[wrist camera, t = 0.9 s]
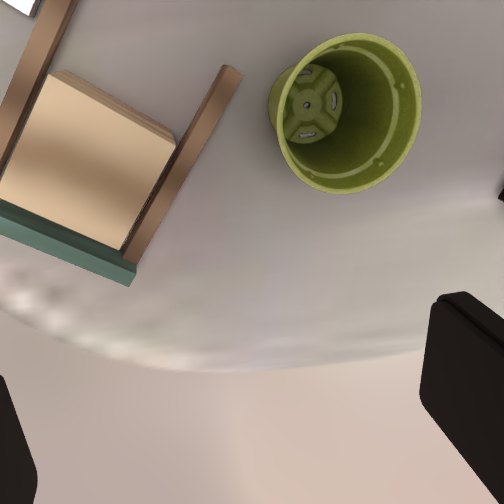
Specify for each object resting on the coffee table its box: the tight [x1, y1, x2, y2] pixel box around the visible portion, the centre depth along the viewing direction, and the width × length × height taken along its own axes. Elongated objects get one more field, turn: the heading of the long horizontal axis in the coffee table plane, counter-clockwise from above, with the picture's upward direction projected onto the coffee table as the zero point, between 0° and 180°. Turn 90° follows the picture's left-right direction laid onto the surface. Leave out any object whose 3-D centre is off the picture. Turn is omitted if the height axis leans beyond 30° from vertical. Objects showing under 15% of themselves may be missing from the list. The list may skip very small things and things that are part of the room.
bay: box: [0, 0, 243, 287], centre depth 30 cm, size 17×12×6 cm
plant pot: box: [268, 33, 422, 194], centre depth 31 cm, size 9×9×9 cm
